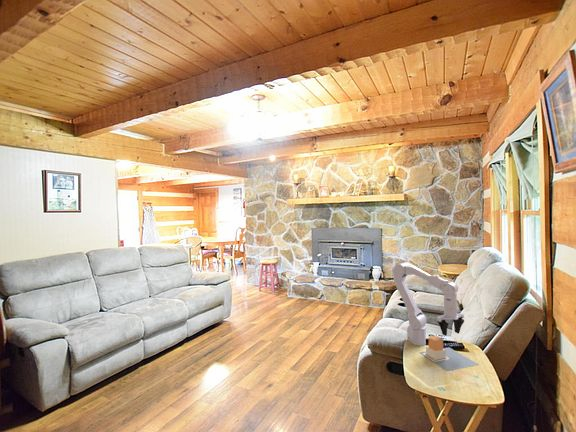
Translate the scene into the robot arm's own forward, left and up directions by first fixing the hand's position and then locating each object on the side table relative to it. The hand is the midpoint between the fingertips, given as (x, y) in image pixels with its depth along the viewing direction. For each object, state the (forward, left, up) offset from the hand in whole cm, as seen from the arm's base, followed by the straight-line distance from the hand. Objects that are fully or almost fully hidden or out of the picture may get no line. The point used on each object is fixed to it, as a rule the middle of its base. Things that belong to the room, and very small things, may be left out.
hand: (450, 333), depth 151 cm
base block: (+1, -10, -9) cm, 14 cm away
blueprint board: (+5, -6, -10) cm, 12 cm away
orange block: (+1, -10, -5) cm, 11 cm away
